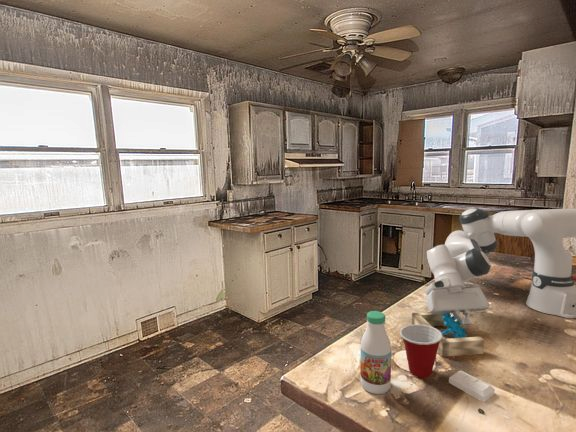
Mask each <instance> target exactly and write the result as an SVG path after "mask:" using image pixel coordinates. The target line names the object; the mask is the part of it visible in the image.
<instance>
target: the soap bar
mask: <svg viewBox="0 0 576 432" xmlns="http://www.w3.org/2000/svg"><path fill="white" fill-rule="evenodd" d="M448 384H451V386H454V387H456V388H457V389H459V390H461V391H463V392H464V393H466V394H468V395H470V396H471V397H473V396H474V397H473V398H475V399H477V398H478V399H477V400H479V399H480V400H479V401H481V402H482V401H483V403H486V402H487V401H488V400H489V399H491V398H492V397H494V396H495V390H496V389H495V388H494V387H493V386H491V384H489V383H486V382H485V381H483V380H481V379H479V378H478V377H475V376H473V375H471V374H470V373H467V372H466V371H463V370H459V371H456V372H455V373H454V374H453V375H451V376H450V377H448ZM491 396H492V397H491ZM490 397H491V398H490ZM486 400H487V401H486ZM485 401H486V402H485Z"/></svg>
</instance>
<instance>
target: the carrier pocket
mask: <svg viewBox="0 0 576 432" xmlns="http://www.w3.org/2000/svg"><path fill="white" fill-rule="evenodd" d="M411 314H412V316H411V325H414V324H419V325H427V326H431V327H439V326H441V327H442V326H443V327H444V326H445V324H444V322H445V321H444V320H443V319H442V317H444V316H443V314H432V313H431V312H430V311H425V312H412V313H411ZM449 314H451V313H449ZM484 346H485V339H484V338H483V337H481V336H469V337H468V336H467V337H465V338H455V337H454V338H452V337H451V338H445V337H444V335H442V338H441V340H440V343H439V347H438V350H437V353H438V354H439V355H440V357H442V358H443V357H456V356H457V357H458V356H469V355H472V356H473V355H483V354H484V348H485V347H484Z"/></svg>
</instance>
